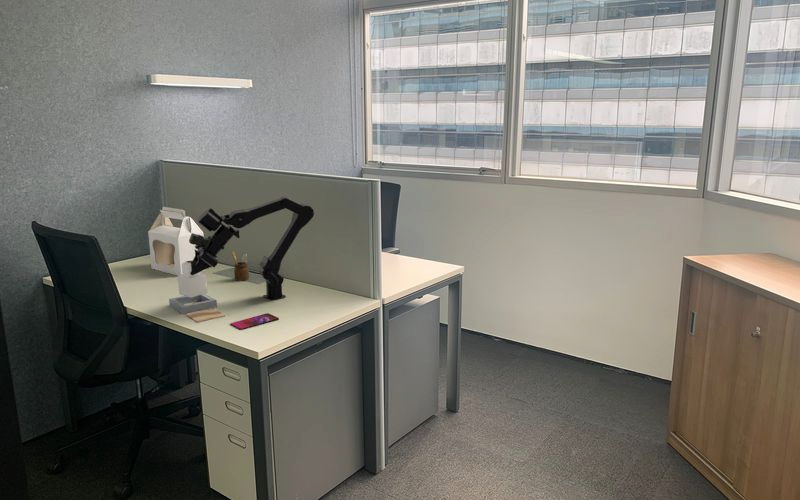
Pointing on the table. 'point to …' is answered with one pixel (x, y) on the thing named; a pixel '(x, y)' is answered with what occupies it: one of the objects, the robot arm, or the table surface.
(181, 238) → the gable box
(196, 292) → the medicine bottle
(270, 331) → the table surface
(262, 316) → the smartphone
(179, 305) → the parts tub
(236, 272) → the utensil holder
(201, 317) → the cork coaster
